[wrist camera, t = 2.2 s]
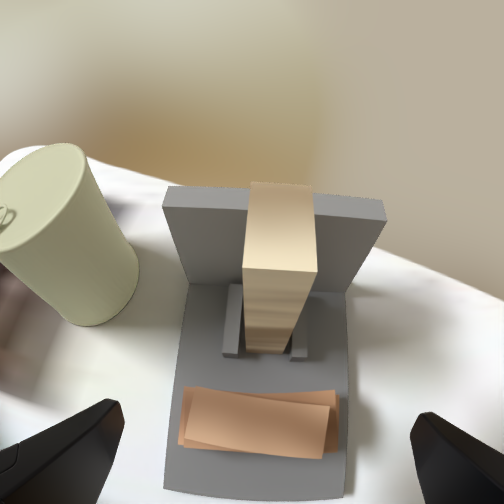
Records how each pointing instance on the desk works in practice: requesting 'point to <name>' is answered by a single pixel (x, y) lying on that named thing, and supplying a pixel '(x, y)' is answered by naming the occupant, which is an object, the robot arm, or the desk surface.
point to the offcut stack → (260, 422)
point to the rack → (259, 364)
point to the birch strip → (277, 263)
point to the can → (65, 236)
